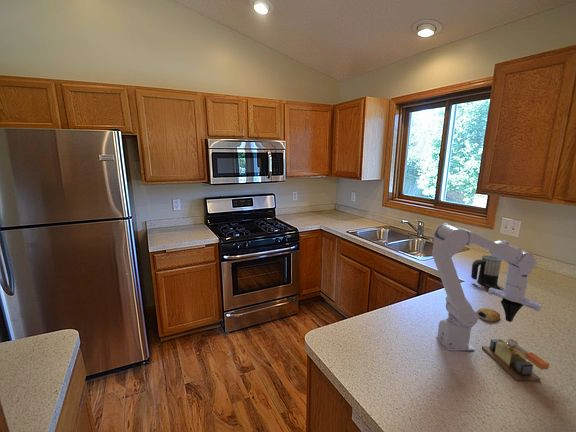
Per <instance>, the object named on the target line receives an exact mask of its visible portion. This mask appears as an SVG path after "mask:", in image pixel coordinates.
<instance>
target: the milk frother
mask: <svg viewBox="0 0 576 432" xmlns="http://www.w3.org/2000/svg"><path fill="white" fill-rule="evenodd" d="M502 261H503V260H500V259H498V258H496V257H494V256H492V255H482V256H481V259H476V260H474V261H473V263H472V265H471V275H470V276H471V278H472V280H477V281H476V282H477V283H479V284H480V285H482V286H485V287H488V288H494V289H498V290H502V291H503V289H502V288H501V287H500V286H499V285H498V280H499V277H500V276H499V274H500V270H501V265H502V264H501V263H502ZM478 271H479V272H478Z"/></svg>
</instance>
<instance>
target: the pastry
mask: <svg viewBox="0 0 576 432" xmlns="http://www.w3.org/2000/svg"><path fill="white" fill-rule="evenodd" d="M475 312H476V313H477V315H478V319H481V320H484V321H486V322H489V323H490V322H492V323H493V322H496V321H498V320H500V318H501V314H500V313H499V311H496V310H495V309H491V308H484V307H483V308H478V310H476V311H475Z"/></svg>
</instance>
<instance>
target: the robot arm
mask: <svg viewBox="0 0 576 432" xmlns="http://www.w3.org/2000/svg"><path fill="white" fill-rule="evenodd" d="M432 234H433V245H432V251H431V255H432V258H433V262H434V263H435V266H436V269H437V272H438V274H439V277H440V280H441V282H442V285H443V288H444V290H445V295H446V297H445V302H446V303H445V310H446V311H447V312H448V316H447V318H446V319H443V320H439V323H438V330H437V335H436V336H435V338H437V340H438V341H439V342H440V343H441V344H442V345H443V346H444V348H445V349H446V350H448V351H475V347H473V346H472V345H471V344H470V339H471V332H472V328H473V327H474V326H475V325H476V324H477V323H478V321H479V317H478V315H477V313H476V312H477V311H475V310H474V309H473V307H472V305H471V303H470V302H469V301H468V299H467V298H466V296H465V292H464V290H463V289H464V288H463V286H462V284H461V281H460V278H459V276H458V272H457V270H456V268H455V267H456V266H455V264H454V262H453V259H452V257H454V255H456V254H457V253H458V252H460V250H462V249H463V248H465V246H471V245H472V244H474V245H476V246H478V247H481V248H483V249H486V250H488V253H489V254H490V256H493V257H496V258H498V259H500V260H502V261H503V262H506V263H507V265H508V266H507V272H506V277H505V283H504V289H502V290H498V289H494V288H491V287H489V288H488V292H487V294H488V295H491V296H492V295H493V296H497V297H499V298H502V300H500V304H501V306H502V308H503V311H504V315H505V321H507V322H509V323H511V322H513V321H514V318H515V317H516V315H517V313H518V312H519V310H521V308H523V307H527V308H529V309H533V310H534V311H536V312H540V311H541V309H542V304H540V303H538V302H536V301H533V300H531V299H530V298H527V297H526V292H527V286H528V283H529V282H528V281H529V278H530V275H531V274H532V271H533V269H535V267H536V265H537V264H538V262H537V261H536V257H535V256H534V255H533V254H532V253H530V252H527V251H525V250H522V248H521V247H518V246H513V245H511V244H510V242H509V241H507V240H494V241H493V240H491V239H489V238H487V237H484V236H483V235H480V234H479V233H476V232H474V231H473V230H469V229H466V228H463V227H459V226H456V225H454V226H453V225H452V224H450V223H441V224H440V225H439V226H438V227H437V228H435V230H434V232H433V233H432Z"/></svg>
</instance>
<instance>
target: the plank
mask: <svg viewBox="0 0 576 432" xmlns="http://www.w3.org/2000/svg"><path fill="white" fill-rule="evenodd" d="M489 348H490V345H488V346H487V345H483V346H481V349H482V350H483V351H484V352H485V353H486V354H487V355H488V356H490V357H491V358H492V359H493V360H494V361H495V362H496V363H497V364H498V365H499V366H501V367H502V368H503V369H504V370H505V372H506V373H508V374H509V375H510V376H511V377H512V378H513V379H515V380H516V381H517V382H540V381H541V378H540V377H539V376H538V374H536V373H534V372H533V371H532V374H531V375H519V374H518V373H516V370H515V369H514V368H509V367H507V366H506V365H505V364H504V363H503V362H502V361H501V360H500V359H499V358H497V357H496V356H495V351H492V350H490V349H489Z"/></svg>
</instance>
